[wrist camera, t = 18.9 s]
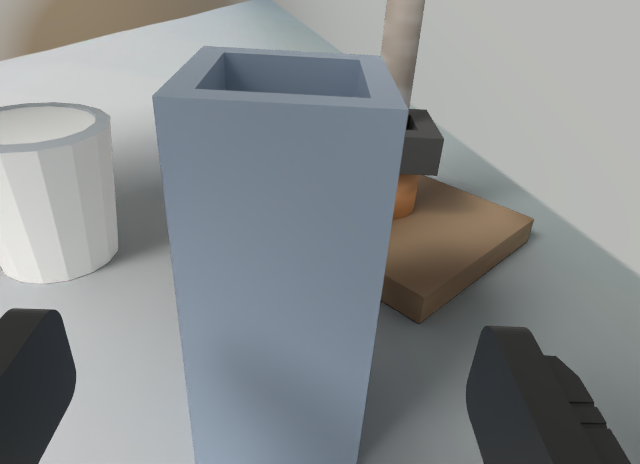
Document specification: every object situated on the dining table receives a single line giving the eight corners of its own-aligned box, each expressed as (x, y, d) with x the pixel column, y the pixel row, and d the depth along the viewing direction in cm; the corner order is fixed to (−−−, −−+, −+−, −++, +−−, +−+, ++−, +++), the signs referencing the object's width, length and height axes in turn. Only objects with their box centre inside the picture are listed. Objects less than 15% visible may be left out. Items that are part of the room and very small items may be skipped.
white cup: (-14, 308, 22) (-68, 161, 19) (-16, 235, 27) (-59, 108, 24) (145, 269, 25) (124, 136, 22) (117, 210, 30) (96, 94, 27)
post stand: (232, 210, 31) (220, -110, 23) (351, 166, 38) (375, -92, 30) (419, 323, 23) (507, -113, 14) (527, 241, 30) (629, -87, 21)
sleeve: (195, 465, 16) (151, 96, 10) (222, 350, 21) (203, 45, 15) (355, 470, 16) (408, 109, 10) (348, 355, 21) (381, 56, 15)
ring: (344, 171, 26) (348, 134, 25) (341, 138, 30) (344, 105, 29) (437, 175, 26) (444, 139, 25) (420, 142, 30) (426, 109, 29)
